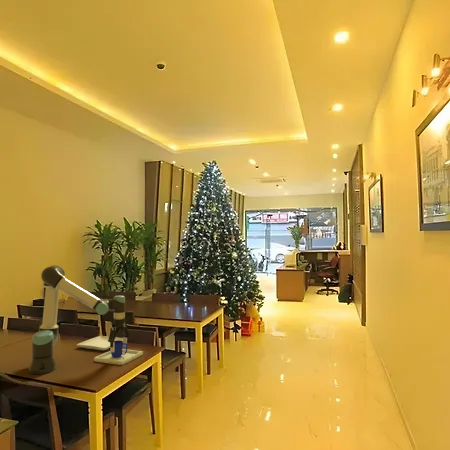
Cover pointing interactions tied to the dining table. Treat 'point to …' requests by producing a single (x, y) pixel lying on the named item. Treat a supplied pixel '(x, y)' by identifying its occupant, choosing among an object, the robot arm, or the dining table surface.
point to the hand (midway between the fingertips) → (118, 349)
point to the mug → (118, 349)
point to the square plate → (98, 343)
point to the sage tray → (120, 360)
